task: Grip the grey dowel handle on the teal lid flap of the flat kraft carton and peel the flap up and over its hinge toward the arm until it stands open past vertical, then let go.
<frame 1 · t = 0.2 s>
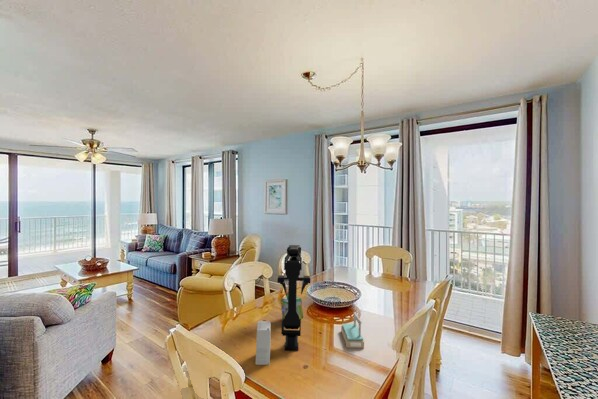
hand: (293, 294, 152), 15 cm above the table, fingers open, 8 cm apart
lid flap: (352, 324, 132), point 7 cm above the table, hinge at 0.0°
skincare box: (263, 360, 113), on the table
carton: (351, 339, 132), on the table
chalk box: (292, 319, 152), on the table, touching gripper
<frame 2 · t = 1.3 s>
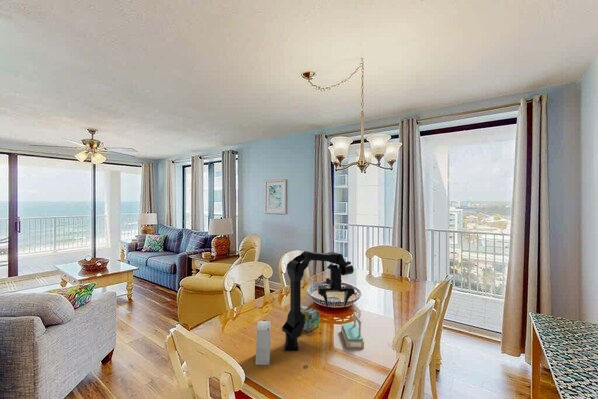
hand: (335, 306, 139), 13 cm above the table, fingers open, 9 cm apart
chalk box: (298, 314, 149), point 5 cm above the table
everything else where it was.
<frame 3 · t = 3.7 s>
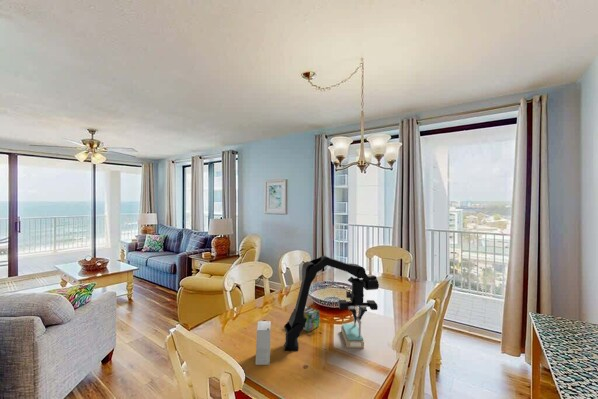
hand: (357, 322, 132), 9 cm above the table, fingers closed on lid flap
lid flap: (352, 324, 132), point 7 cm above the table, hinge at 0.0°, touching gripper
everything else where it was.
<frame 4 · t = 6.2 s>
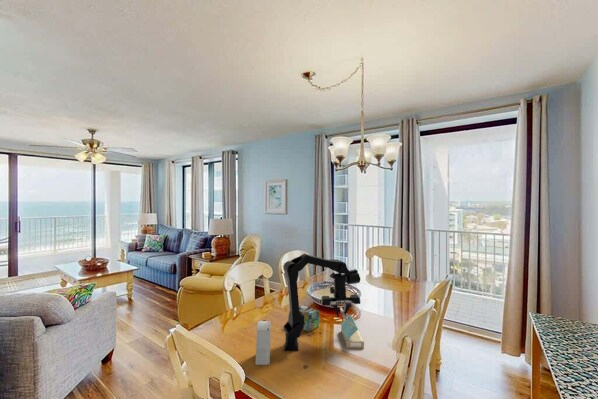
hand: (341, 317, 132), 11 cm above the table, fingers open, 3 cm apart
lid flap: (344, 321, 132), point 9 cm above the table, hinge at 45.3°, touching gripper
everything else where it was.
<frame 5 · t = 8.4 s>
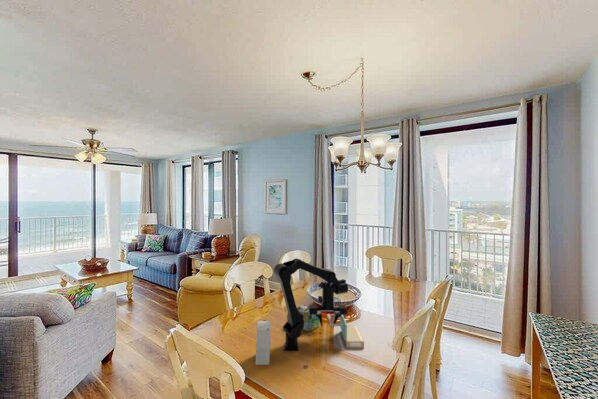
hand: (327, 326, 132), 6 cm above the table, fingers open, 5 cm apart
lid flap: (336, 324, 132), point 7 cm above the table, hinge at 89.7°
everything else where it was.
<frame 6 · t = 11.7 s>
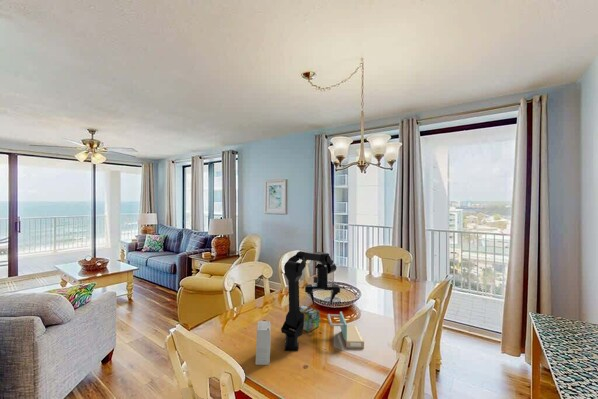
hand: (322, 304, 144), 12 cm above the table, fingers open, 9 cm apart
nothing on the table moved.
at the end: lid flap at +90° (first picture: +0°); the gripper is holding nothing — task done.
